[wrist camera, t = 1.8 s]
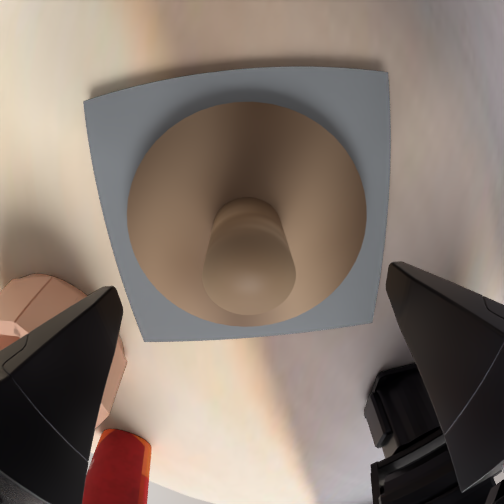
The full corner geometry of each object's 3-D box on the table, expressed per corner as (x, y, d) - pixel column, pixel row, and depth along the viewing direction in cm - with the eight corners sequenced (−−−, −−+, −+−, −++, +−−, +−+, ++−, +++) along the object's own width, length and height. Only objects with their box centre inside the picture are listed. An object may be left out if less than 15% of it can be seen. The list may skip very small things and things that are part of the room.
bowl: (93, 269, 15) (53, 323, 11) (142, 383, 20) (128, 437, 15) (-7, 277, 15) (-45, 316, 11) (46, 373, 20) (25, 415, 15)
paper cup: (80, 424, 24) (49, 530, 11) (129, 420, 23) (101, 551, 10) (125, 457, 27) (108, 552, 14) (176, 455, 26) (165, 566, 13)
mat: (382, 73, 11) (387, 72, 11) (368, 316, 17) (372, 322, 17) (89, 101, 11) (83, 101, 11) (146, 335, 18) (144, 341, 17)
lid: (360, 99, 11) (416, 99, 7) (352, 306, 16) (381, 367, 12) (113, 124, 11) (55, 136, 7) (161, 322, 16) (141, 386, 12)
